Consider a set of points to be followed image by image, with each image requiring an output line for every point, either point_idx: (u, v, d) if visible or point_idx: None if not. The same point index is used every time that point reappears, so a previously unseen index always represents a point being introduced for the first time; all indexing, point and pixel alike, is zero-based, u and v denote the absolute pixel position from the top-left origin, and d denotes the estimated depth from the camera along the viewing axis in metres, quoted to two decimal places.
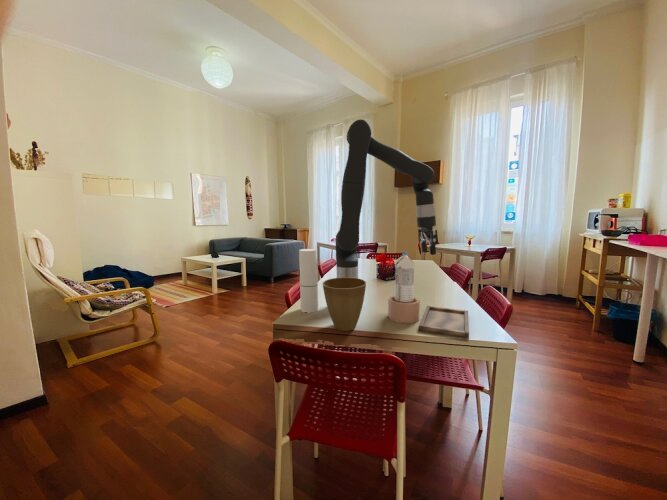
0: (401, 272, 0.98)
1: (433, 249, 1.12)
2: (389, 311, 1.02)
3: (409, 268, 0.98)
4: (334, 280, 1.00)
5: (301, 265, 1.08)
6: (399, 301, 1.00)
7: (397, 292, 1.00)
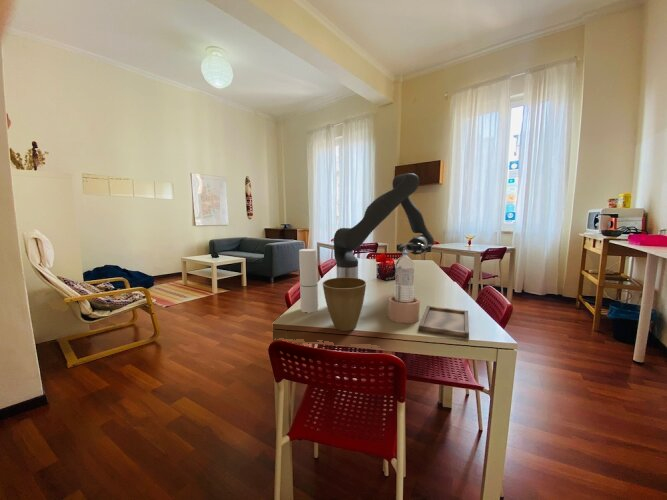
0: (401, 272, 0.98)
1: (425, 249, 1.11)
2: (389, 311, 1.02)
3: (409, 268, 0.98)
4: (334, 280, 1.00)
5: (301, 265, 1.08)
6: (399, 301, 1.00)
7: (397, 292, 1.00)
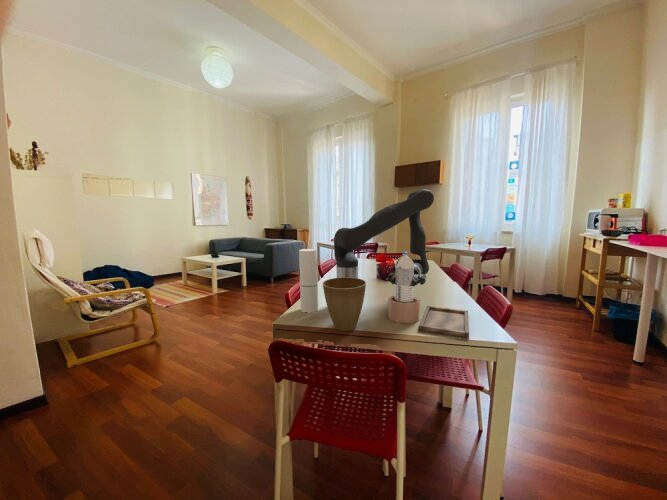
0: (401, 272, 0.98)
1: (417, 282, 0.99)
2: (389, 311, 1.02)
3: (409, 268, 0.98)
4: (334, 280, 1.00)
5: (301, 265, 1.08)
6: (399, 301, 1.00)
7: (397, 292, 1.00)
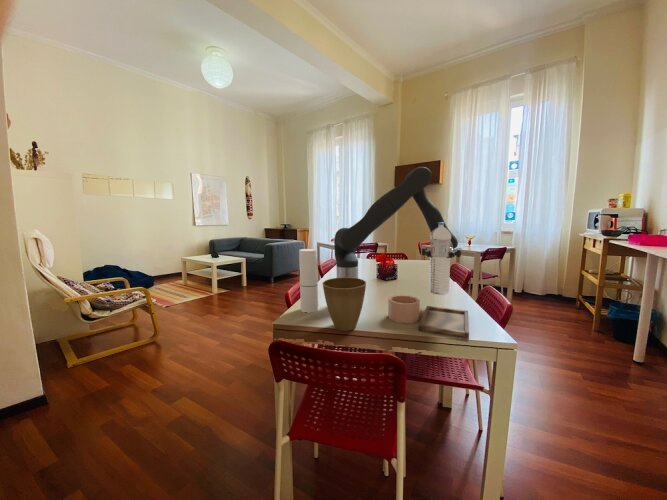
0: (438, 243, 0.93)
1: (454, 253, 0.94)
2: (389, 311, 1.02)
3: (446, 239, 0.92)
4: (334, 280, 1.00)
5: (301, 265, 1.08)
6: (435, 274, 0.95)
7: (433, 265, 0.95)
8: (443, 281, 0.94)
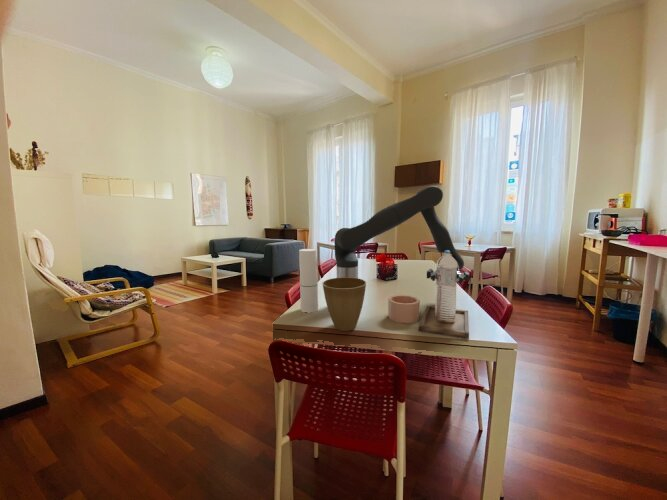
0: (444, 272, 0.94)
1: (463, 278, 0.94)
2: (389, 311, 1.02)
3: (452, 268, 0.93)
4: (334, 280, 1.00)
5: (301, 265, 1.08)
6: (442, 302, 0.95)
7: (439, 293, 0.95)
8: (450, 310, 0.94)
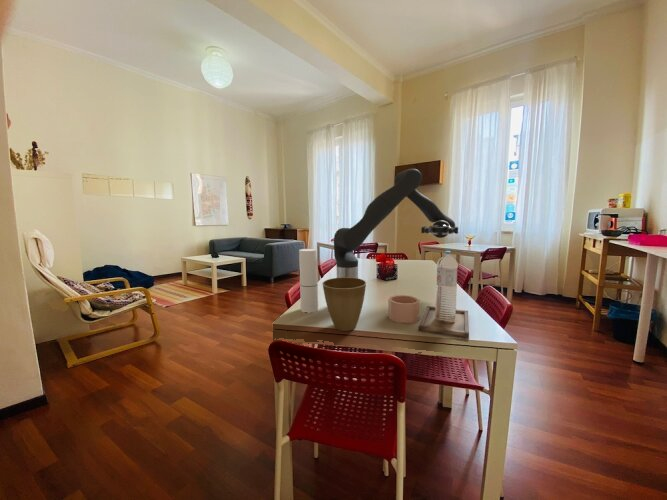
0: (444, 272, 0.93)
1: (452, 230, 1.08)
2: (389, 311, 1.02)
3: (453, 268, 0.92)
4: (334, 280, 1.00)
5: (301, 265, 1.08)
6: (442, 303, 0.95)
7: (439, 293, 0.95)
8: (450, 310, 0.94)
